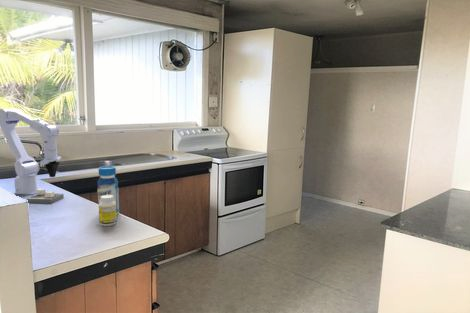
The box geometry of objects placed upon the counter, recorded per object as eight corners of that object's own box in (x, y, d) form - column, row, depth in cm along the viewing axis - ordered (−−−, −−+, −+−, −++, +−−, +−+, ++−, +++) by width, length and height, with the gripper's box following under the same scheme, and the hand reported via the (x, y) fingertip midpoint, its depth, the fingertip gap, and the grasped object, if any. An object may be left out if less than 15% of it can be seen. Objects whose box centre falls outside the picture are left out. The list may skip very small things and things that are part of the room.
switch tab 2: (45, 197, 167) (44, 192, 166) (48, 195, 169) (48, 191, 169) (51, 197, 166) (51, 192, 166) (54, 196, 169) (54, 191, 168)
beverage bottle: (123, 212, 154) (122, 166, 151) (109, 217, 146) (107, 170, 143) (108, 209, 157) (106, 164, 154) (94, 215, 149) (91, 168, 146)
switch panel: (27, 202, 166) (26, 198, 166) (40, 196, 176) (40, 192, 176) (51, 203, 165) (51, 199, 165) (63, 197, 175) (63, 193, 175)
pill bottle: (102, 221, 142) (101, 194, 140) (118, 220, 143) (117, 194, 141) (97, 226, 136) (96, 198, 134) (114, 226, 137) (113, 198, 135)
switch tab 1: (36, 194, 171) (36, 190, 171) (39, 193, 174) (39, 188, 173) (42, 194, 171) (42, 190, 171) (45, 193, 173) (45, 189, 173)
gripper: (49, 152, 168) (51, 180, 170) (66, 148, 183) (68, 174, 185) (35, 151, 169) (37, 179, 171) (53, 147, 183) (55, 173, 185)
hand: (52, 176), depth 178 cm, fingers closed
